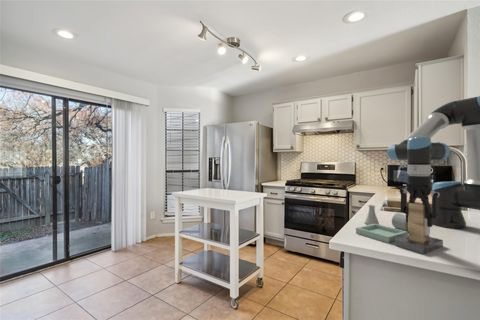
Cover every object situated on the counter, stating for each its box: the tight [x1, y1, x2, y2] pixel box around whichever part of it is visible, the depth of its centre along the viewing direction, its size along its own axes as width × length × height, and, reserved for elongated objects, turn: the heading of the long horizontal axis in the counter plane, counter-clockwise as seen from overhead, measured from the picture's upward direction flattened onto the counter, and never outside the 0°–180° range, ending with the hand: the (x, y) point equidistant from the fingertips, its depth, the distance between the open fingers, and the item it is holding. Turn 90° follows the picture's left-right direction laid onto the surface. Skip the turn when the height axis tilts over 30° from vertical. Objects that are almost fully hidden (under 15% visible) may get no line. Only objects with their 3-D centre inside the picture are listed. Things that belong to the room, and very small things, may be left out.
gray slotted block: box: [393, 234, 444, 255], centre depth 94 cm, size 16×10×3 cm, turn 119°
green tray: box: [355, 223, 409, 244], centre depth 107 cm, size 15×15×2 cm
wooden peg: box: [408, 201, 430, 243], centre depth 94 cm, size 5×5×16 cm
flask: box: [364, 204, 380, 225], centre depth 125 cm, size 7×7×10 cm
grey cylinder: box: [391, 212, 409, 233], centre depth 115 cm, size 11×8×8 cm
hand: (418, 232), depth 94 cm, fingers closed on wooden peg, 5 cm apart
